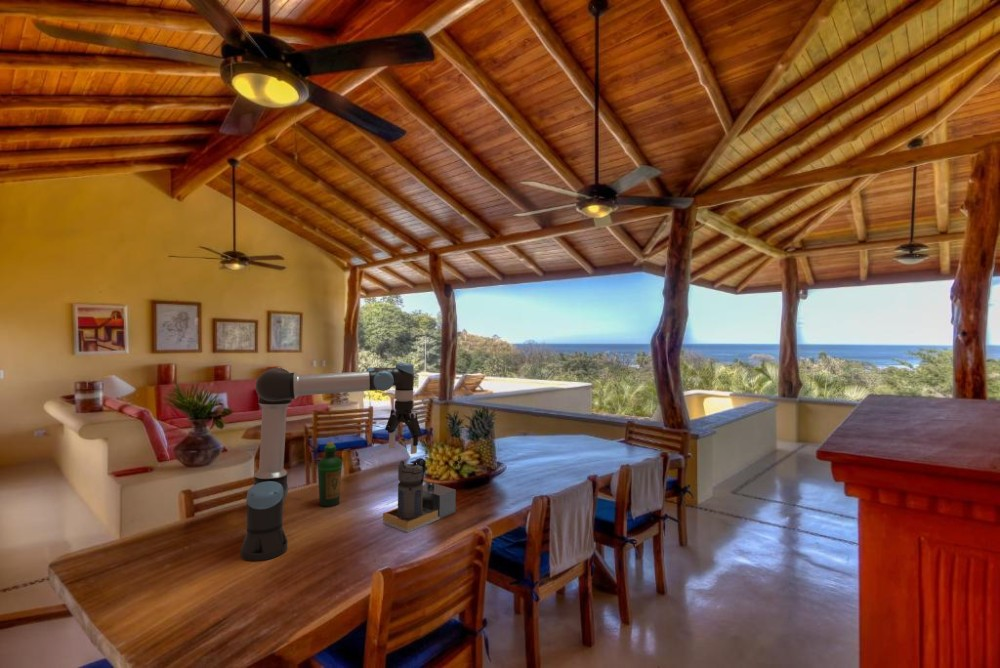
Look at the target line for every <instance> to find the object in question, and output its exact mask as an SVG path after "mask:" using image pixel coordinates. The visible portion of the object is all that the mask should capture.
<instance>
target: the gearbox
mask: <svg viewBox="0 0 1000 668" xmlns="http://www.w3.org/2000/svg"><path fill="white" fill-rule="evenodd" d="M456 491H457V490H456V489H455V488H451V487H448V486H444V485H441V484H438V483H435V482H433V481H429V482H427V484H424V485H423V500H424V501H423V500H422V515H421V516H419V517H416V518H414V519H411V520H409V521H407V520H404V519H401V518H399V517H398V507H396V508H394V509H391V510H388V511H385V512H382V524H383V525H387V526H388V527H392V528H394V529H396V530H398V531H402V532H404V533H410V532H413V531H415V530H417V529H420V528H422V527H425V526H427V525H429V524H431V523H434V522H436V521H439V520H440V519H443V518H445V517H447V516H450V515H452V514H455V513H456V507H457V506H456V504H457V503H456V499H457V498H456V497H457V496H456V495H457V494H456V493H457V492H456Z"/></svg>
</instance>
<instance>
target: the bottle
mask: <svg viewBox="0 0 1000 668" xmlns="http://www.w3.org/2000/svg"><path fill="white" fill-rule="evenodd" d="M323 452H324V454H325V456H324V457H321V458H320V460H319V461H318V463H317V473H318V478H317V479H318V495H319V496H318V497H319V498H318V500H319V501H318V502H319V505H320V506H322V507H334V506H337V505H338V504H339V503H340V496H341V483H342V470H343V469H342V467H343V466H342V465H343V460H342V459H341V458H340V457H338V456H336V452H337V447H336V444H335V442H333V441H329V442H326V444H325V446H324V450H323Z"/></svg>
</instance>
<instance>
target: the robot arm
mask: <svg viewBox="0 0 1000 668" xmlns="http://www.w3.org/2000/svg"><path fill="white" fill-rule="evenodd" d="M414 368H415V367H414V364H413V363H411V362H397V363H396V364H395V367H368V368H366V370H364V371H353V372H352V371H350V372H349V371H347V372H333V373H330V372H329V373H315V374H314V373H313V374H312V373H311V374H298V373H296V372H289V371H288V370H287V369H285V368H281V367H273V368H269V369H267V370H266V371H264V372H263V373H261V374H260V376H258V378H257V379H256V382H255V391H256V393H257V395H258V401H257V403H258V405H259V406H260V407H262V409H261V410H262V411H261V427H260V429H261V430H260V432H261V433H260V445H259V464H258V470H257V472H255V473H254V475H253V485H252V486H250V487H249V489H248V490H247V493H246V494H247V495H246V497H245V499H246V531H245V532H246V533H245V536H244V539H243V542H242V543H241V547H240V558H241V559H243V560H246V561H250V562H259V561H266V560H270V559H274V558H277V557H279V556H281V555H283V554H284V553H286V552H287V550H288V548H289V547H288V538H287V535H286V533H285V531H284V526H283V522H284V521H283V520H284V519H283V516H284V512H283V511H284V503H285V500H286V497H287V496H288V495H287V494H288V491H289V485H288V470H286V469H285V466H284V464H285V448H286V445H285V443H286V431H287V430H286V429H287V428H286V427H287V409H288V407H289V406H290V405H291V404H292V400H295V399H297V398H298V397H301V396H313V395H325V394H326V395H327V394H338V393H340V394H342V393H350V392H351V393H353V392H354V393H355V392H366V391H380V392H384V391H388V390H390V389H392V387H394V388H395V389H394V399H395V401H394V409H391V410H390V415H389V418H388V419H387V420H388V421H387V423H386V426H385V427H384V428H385V429H384V430H385V431H387V433H388V449H395V448H396V429H397V427H398V426H399V424H400V423H403V424H405V425H406V426H407V429H408V430H409V433H410V435H411V437H410V454H411V455H413V454H417V453H418V445H419V438H421V437H422V436H423V434H422V431H421V427H420V423H419V420H418V413H417V412H414V413H412V410H413V409H414V400H413V399H414V382H415V381H414V379H415V369H414Z"/></svg>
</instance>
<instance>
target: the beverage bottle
mask: <svg viewBox="0 0 1000 668" xmlns="http://www.w3.org/2000/svg"><path fill="white" fill-rule="evenodd" d="M425 471H426V460H425V459H424V458H423V457H420V458H416V459H415V460H412V461H410V462H409V463H407V464H405V461H404V460H401V461H400V462H399V465H398V471H397V472H398V473H397V477H398V478H397V479H398V481H399V483H398V484H397V508H398V517H399V518H401V519H404V520H407V521H409V520H411V519H414V518H416V517H419V516H421V515H422V500H423V486H424V485H423V484H424V478H425ZM423 501H424V500H423Z"/></svg>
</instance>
